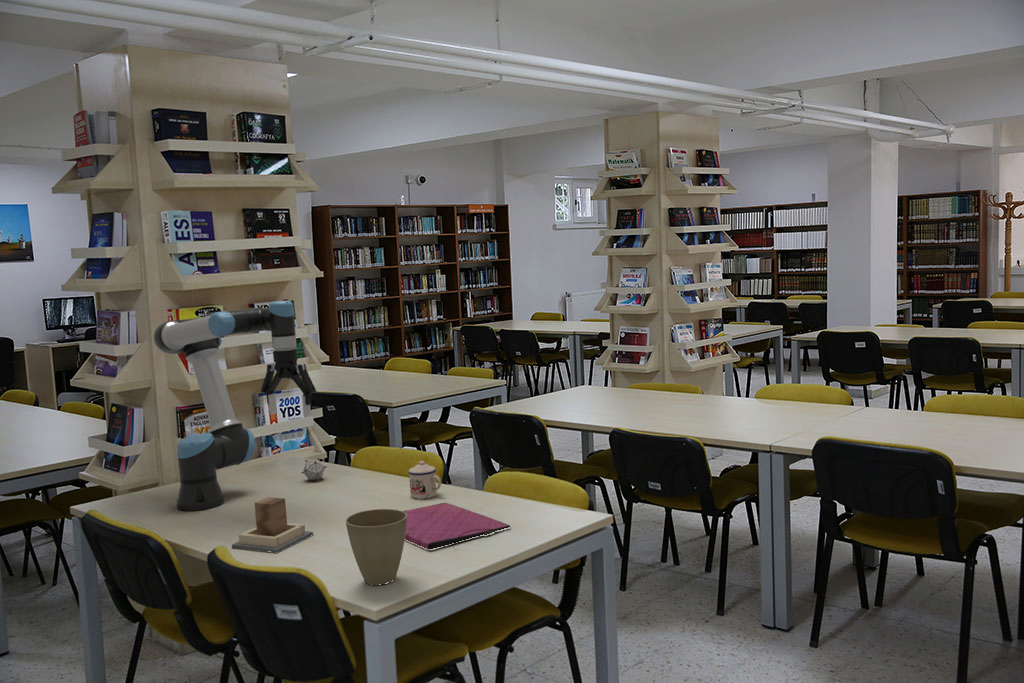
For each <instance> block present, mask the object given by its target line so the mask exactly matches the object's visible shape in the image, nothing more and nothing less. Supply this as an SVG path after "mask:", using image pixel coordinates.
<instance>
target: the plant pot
mask: <svg viewBox="0 0 1024 683" xmlns="http://www.w3.org/2000/svg"><path fill="white" fill-rule="evenodd" d="M403 511H404V510H399V509H394V508H393V509H392V508H391V509H390V508H377V509H367V510H364V511H359V512H356V513H353V514H351V515H348V517H346V519H345V527H346V530H347V534H348V539H349V542H350V546H351V550H352V553H353V556H354V559H355V562H356V564H357V568H358V570H359V572H360V575H361V576H362V578H363V581H364V583H365V582H366V583H368V584H372V585H371V586H373V585H379V584H385V583H387V582H390V581H392V580H394V579H395V580H396V578H397V575H398V571H399V568H400V563H401V560H402V555H403V551H404V546H405V541H404V540H405V533H406V522H407V514H406V513H405V512H403ZM395 580H394V581H395ZM366 583H365V584H366ZM368 584H367V585H368ZM379 586H380V585H379Z"/></svg>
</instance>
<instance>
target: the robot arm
mask: <svg viewBox="0 0 1024 683" xmlns="http://www.w3.org/2000/svg"><path fill="white" fill-rule="evenodd" d="M295 315H296V314H295V310H294V303H293V302H292V301H290V300H282V301H281V300H279V301H270V302H269V304H268V307H258V306H257V307H252V308H247V309H246V308H245V309H238V310H228V311H227V310H226V311H225V310H222V311H217V312H213V313H212V314H211V315H206V316H202V317H195V318H187V319H186V318H185V319H175V320H168V321H165V322H163V323H161V324H159V325H158V326H157V327H156V328H155V331H154V333H153V341H154V344H155V346H156V347H157V348H158V349H159V351H161V352H163V353H166V354H170V355H178V354H184V358H185V360H186V361H187V362H189V363H191V365H192V368H193V372H194V374H195V379H196V381H197V385H198V388H199V391H200V394H201V398H202V401H203V404H204V407H205V410H206V413H207V417H208V421H209V424H210V429H209V431H208V432H202V433H198V434H192V435H189V436H186V437H184V438H182V439H180V440H179V442H178V443H177V447H176V448H177V449H176V450H177V451H176V452H177V454H176V457H177V461H178V471H179V480H180V486H179V491H178V496H177V500H176V508H178V511H179V510H180V511H183V510H187V511H186V512H190V510H191V512H194V511H193V510H196V511H202V510H201V509H204V510H209V509H213V508H216V507H218V505H219V506H220V505H223V504H224V503H225V496H224V495H225V494H224V492H222V489H221V486H220V483H219V481H218V478H217V477H218V476H217V470H221V469H225V468H228V467H233V466H239V465H241V464H243V463H246V462H248V461H250V460H251V459H252V457H253V456H254V454H255V453H254V452H255V450H256V440H255V436H254V434H253V432H252V431H251V430H250V429H248V428H246V427H245V428H244V426H243V425H244V424H243V423H242V422H241V421H240V420H237V419H236V416H235V412H234V409H233V405H232V402H231V399H230V395H229V392H228V389H227V385H226V382H225V380H224V376H223V373H222V371H221V368H220V364H219V360H218V358H217V355H218V353H219V352H220V348H219V347H220V346H221V344H222V342H223V339H222V338H223V337H227V336H232V335H239V334H249V333H257V332H271V333H270V334H271V345H272V346H271V347H272V349H273V352H272V356H273V357H272V358H273V362H274V363H270V364H267V365H266V372H265V376H264V380H263V383H262V386H261V389H260V392H261V393H264V394H266V402H267V404H268V407H269V415H271V416H273V415H276V414H278V408H277V405H278V404H277V395H276V392H275V390H276V389H277V387H278V386H279V384H280V382H281V380H282V379H291V380H292V381H293V382H294V383H295V384H296V386H297V387H298V388H299V390H300V391H301V392H302V395H301V400H302V413H303V417H306V416H309V415H312V412H311V405H312V394H315V393H316V391H317V389H316V387H315V385H314V384H313V381H312V379H311V377H310V375H309V372H308V371H307V365H306V363H300V364H298V360H299V358H298V349H296V348H297V337H296V336H297V334H296V323H295V322H296V321H295ZM222 503H223V504H222ZM212 507H213V508H212ZM208 508H209V509H208Z"/></svg>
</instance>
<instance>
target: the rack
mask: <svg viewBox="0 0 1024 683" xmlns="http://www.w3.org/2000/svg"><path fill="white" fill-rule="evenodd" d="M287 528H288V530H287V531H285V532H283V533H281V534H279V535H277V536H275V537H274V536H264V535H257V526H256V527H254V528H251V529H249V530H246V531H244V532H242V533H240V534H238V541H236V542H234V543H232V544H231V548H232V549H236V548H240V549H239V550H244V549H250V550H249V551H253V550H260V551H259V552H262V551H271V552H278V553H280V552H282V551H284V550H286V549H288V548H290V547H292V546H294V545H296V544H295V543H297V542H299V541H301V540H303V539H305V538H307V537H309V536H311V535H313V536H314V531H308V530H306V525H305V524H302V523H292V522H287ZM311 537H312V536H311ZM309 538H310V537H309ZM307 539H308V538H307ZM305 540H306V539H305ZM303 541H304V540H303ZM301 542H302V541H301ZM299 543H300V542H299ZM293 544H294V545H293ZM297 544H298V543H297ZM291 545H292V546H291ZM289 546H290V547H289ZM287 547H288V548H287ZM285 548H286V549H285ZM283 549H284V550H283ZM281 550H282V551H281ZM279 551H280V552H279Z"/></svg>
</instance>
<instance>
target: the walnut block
mask: <svg viewBox="0 0 1024 683" xmlns="http://www.w3.org/2000/svg"><path fill="white" fill-rule="evenodd" d="M254 513H255V523H256V525H255V526H256V527H257V535H264V536H274V537H275V536H277V535H279V534H281V533H283V532H285V531H287V530H288V528H287V523H288V520H287V519H288V518H287V507H286V498H285V497H284V498H282V497H272V496H268V497H266V498H262V499H261V500H258V501H255V502H254Z"/></svg>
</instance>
